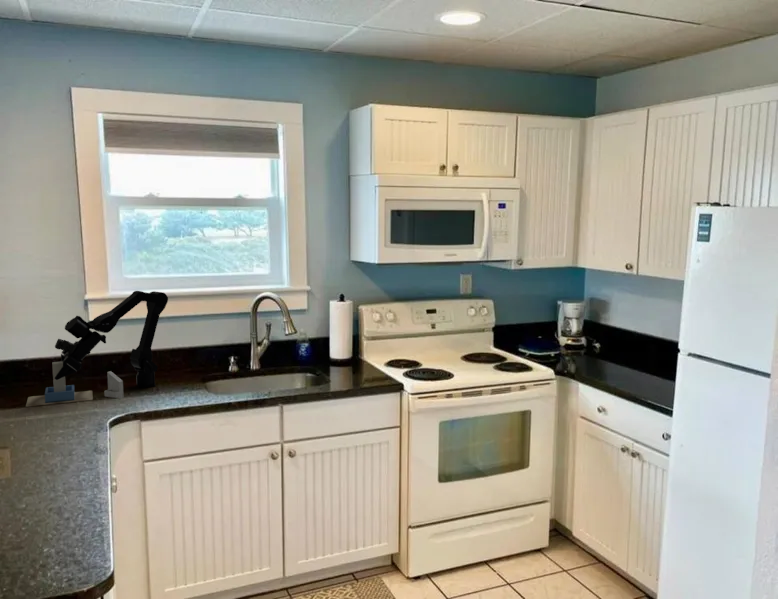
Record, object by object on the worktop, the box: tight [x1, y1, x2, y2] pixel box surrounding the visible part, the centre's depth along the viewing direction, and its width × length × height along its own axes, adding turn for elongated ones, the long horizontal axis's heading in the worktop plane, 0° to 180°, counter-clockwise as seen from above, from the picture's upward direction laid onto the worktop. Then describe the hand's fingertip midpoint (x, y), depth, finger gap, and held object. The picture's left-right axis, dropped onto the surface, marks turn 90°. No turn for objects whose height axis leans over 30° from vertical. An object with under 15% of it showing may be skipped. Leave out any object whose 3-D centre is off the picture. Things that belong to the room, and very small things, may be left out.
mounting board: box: [25, 390, 94, 408], centre depth 242 cm, size 22×14×1 cm, turn 116°
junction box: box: [44, 384, 76, 403], centre depth 242 cm, size 10×10×4 cm
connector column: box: [52, 361, 67, 392], centre depth 241 cm, size 4×4×13 cm
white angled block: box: [104, 370, 125, 400], centre depth 246 cm, size 4×10×9 cm, turn 68°
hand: (54, 376), depth 241 cm, fingers open, 9 cm apart
